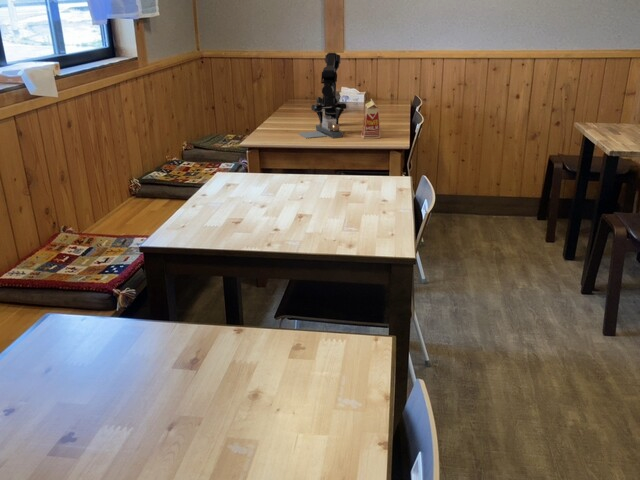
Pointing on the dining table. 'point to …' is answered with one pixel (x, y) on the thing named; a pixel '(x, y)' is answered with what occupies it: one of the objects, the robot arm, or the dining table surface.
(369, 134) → the milk carton
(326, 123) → the grey metal block
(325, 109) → the robot arm
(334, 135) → the hand plane
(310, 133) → the rubber mat
